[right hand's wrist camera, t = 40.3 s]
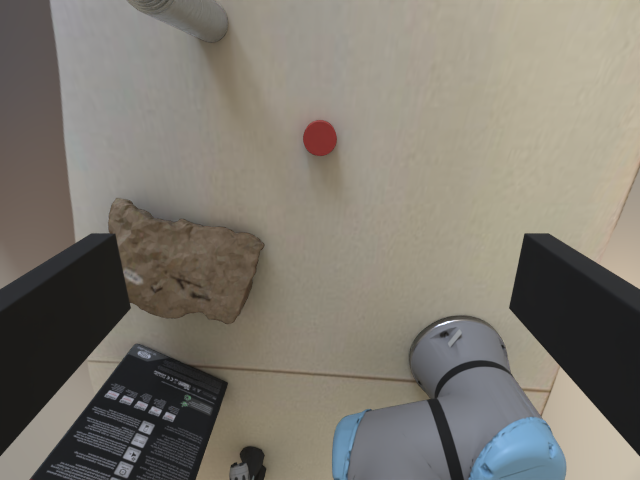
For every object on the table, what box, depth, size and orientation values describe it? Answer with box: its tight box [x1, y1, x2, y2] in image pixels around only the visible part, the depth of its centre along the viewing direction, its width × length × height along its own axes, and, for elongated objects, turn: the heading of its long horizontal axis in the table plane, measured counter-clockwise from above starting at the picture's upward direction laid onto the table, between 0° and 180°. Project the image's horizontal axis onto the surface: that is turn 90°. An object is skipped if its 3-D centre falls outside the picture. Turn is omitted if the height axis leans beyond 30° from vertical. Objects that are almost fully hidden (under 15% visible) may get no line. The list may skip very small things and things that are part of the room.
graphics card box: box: [30, 344, 228, 480], centre depth 51 cm, size 17×7×27 cm, turn 62°
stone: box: [108, 198, 264, 324], centre depth 54 cm, size 21×15×6 cm
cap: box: [303, 120, 337, 156], centre depth 49 cm, size 4×4×3 cm
